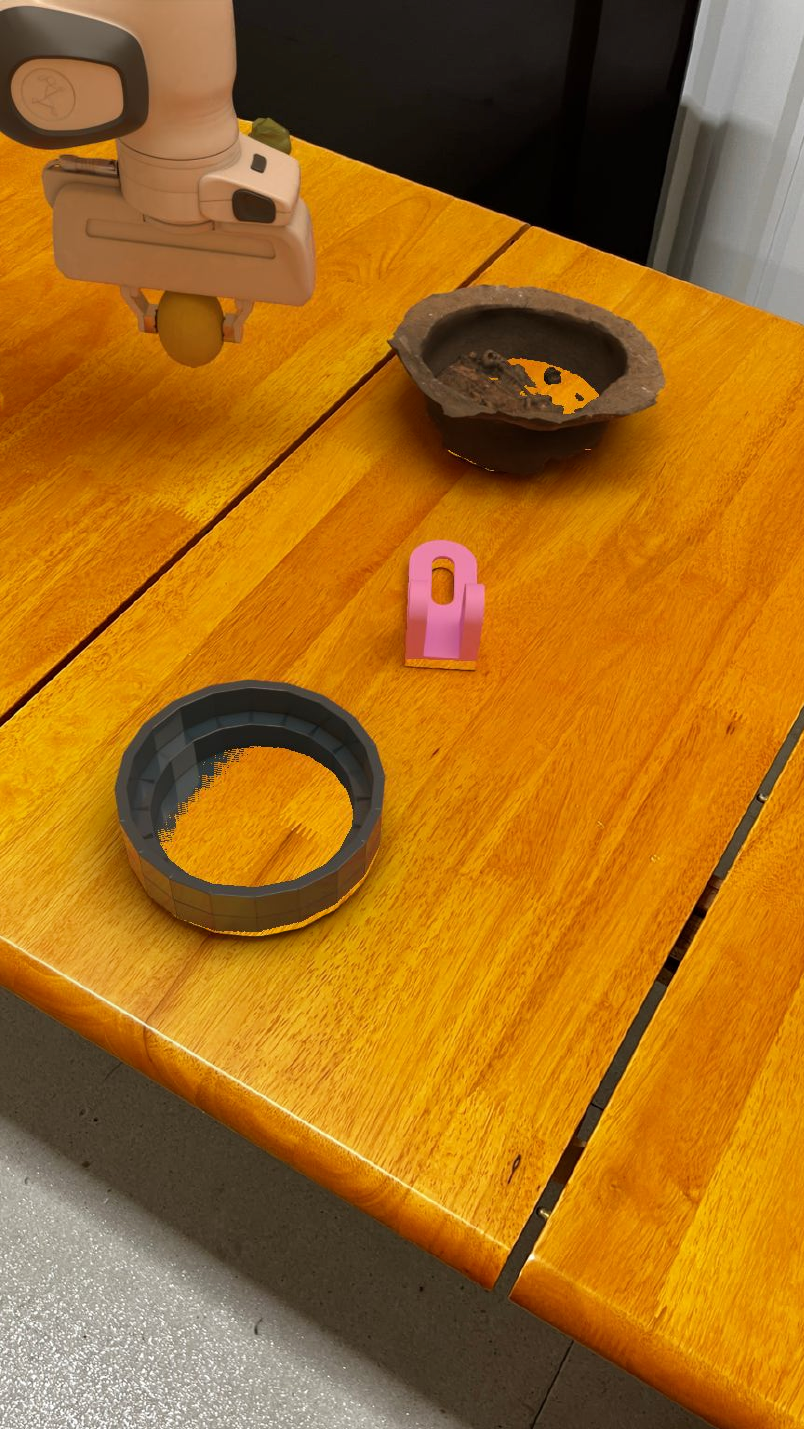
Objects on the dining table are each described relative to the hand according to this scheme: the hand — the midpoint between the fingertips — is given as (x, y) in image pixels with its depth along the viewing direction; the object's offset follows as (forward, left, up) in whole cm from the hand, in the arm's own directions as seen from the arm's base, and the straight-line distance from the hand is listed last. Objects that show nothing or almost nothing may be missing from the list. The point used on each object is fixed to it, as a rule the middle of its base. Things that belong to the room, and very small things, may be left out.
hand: (192, 334), depth 101 cm
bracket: (+22, -19, -10) cm, 31 cm away
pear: (+1, +36, -10) cm, 38 cm away
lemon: (0, 0, -3) cm, 3 cm away
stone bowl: (+28, +7, -10) cm, 31 cm away
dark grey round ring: (+10, -42, -10) cm, 44 cm away
